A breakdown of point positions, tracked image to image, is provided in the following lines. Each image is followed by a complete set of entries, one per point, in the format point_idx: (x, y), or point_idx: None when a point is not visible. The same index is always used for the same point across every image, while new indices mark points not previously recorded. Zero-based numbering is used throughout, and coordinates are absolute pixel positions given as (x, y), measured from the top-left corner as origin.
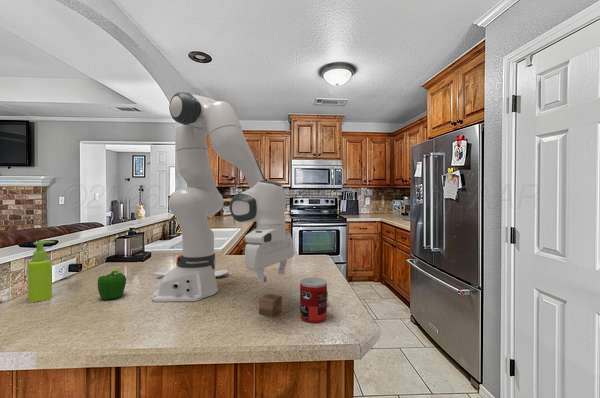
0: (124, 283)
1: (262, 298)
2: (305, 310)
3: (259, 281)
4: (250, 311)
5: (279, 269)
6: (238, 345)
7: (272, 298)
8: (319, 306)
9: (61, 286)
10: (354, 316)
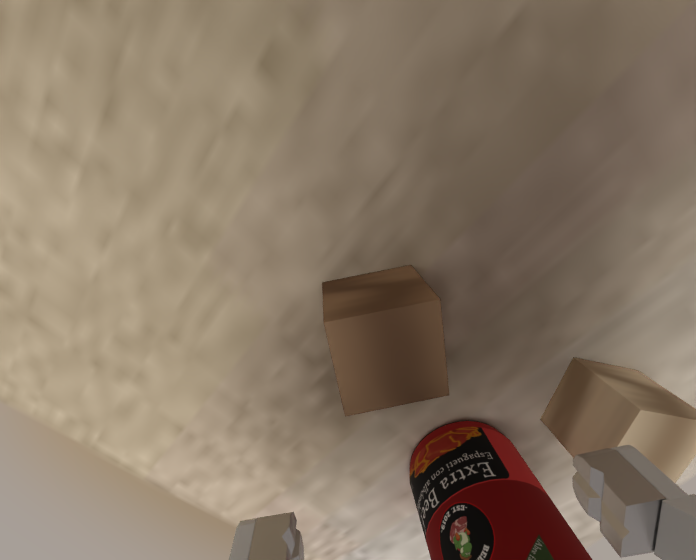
0: None
1: (337, 340)
2: (420, 514)
3: (239, 536)
4: (310, 218)
5: (622, 522)
6: (88, 440)
7: (384, 381)
8: None
9: None
10: None
